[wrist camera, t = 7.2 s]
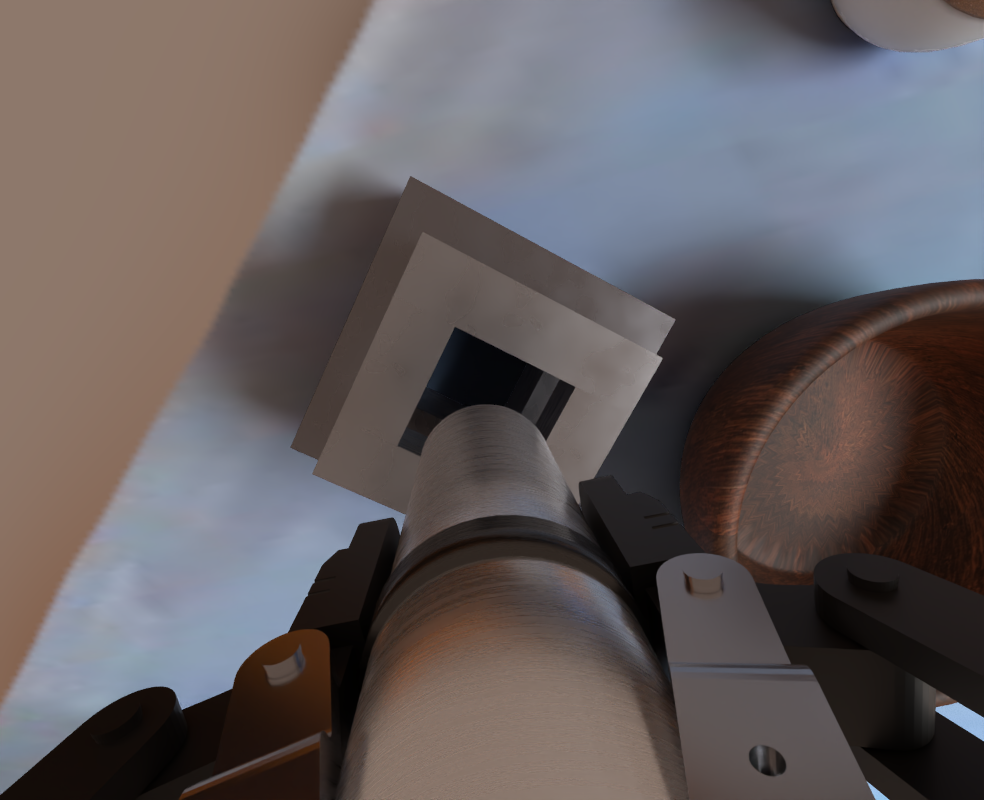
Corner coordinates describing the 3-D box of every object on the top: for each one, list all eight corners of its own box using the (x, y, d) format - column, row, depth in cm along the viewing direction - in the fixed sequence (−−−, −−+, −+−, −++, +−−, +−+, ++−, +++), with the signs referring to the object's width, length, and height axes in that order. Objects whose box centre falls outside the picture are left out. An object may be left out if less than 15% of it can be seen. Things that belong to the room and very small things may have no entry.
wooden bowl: (603, 572, 38) (653, 676, 28) (715, 237, 33) (825, 217, 23) (895, 633, 40) (1037, 747, 30) (1042, 331, 35) (1270, 350, 25)
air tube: (515, 550, 16) (813, 2108, 2) (393, 498, 15) (-169, 2206, 2) (577, 436, 15) (1565, 1759, 2) (452, 377, 15) (283, 1701, 1)
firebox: (528, 513, 36) (561, 635, 24) (320, 419, 34) (234, 499, 21) (639, 313, 33) (744, 331, 21) (420, 196, 31) (389, 135, 18)
